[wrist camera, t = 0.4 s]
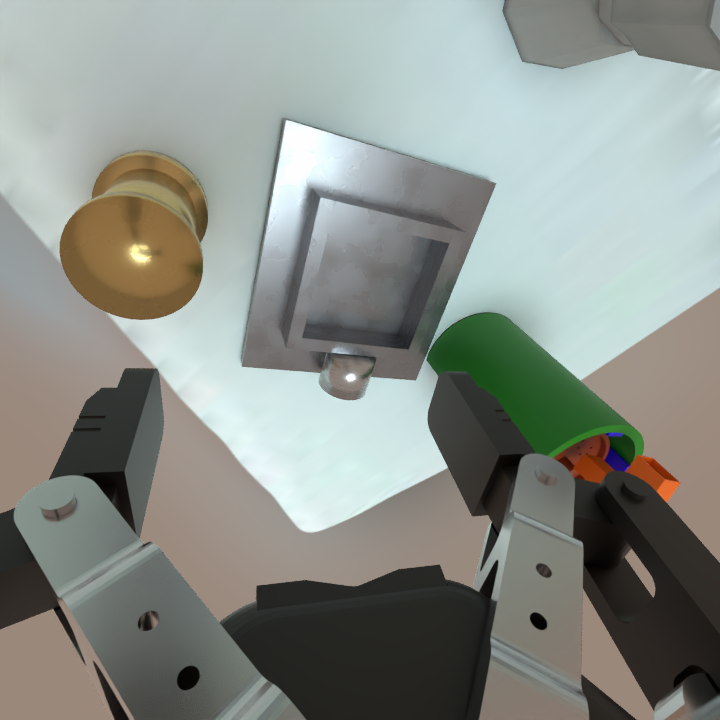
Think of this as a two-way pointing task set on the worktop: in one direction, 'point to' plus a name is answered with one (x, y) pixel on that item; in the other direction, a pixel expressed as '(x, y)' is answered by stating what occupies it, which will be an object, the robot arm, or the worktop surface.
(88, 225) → the gold tall waisted piece
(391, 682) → the robot arm
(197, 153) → the worktop surface
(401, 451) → the worktop surface
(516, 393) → the motor
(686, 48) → the coffee maker
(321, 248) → the coupling base
